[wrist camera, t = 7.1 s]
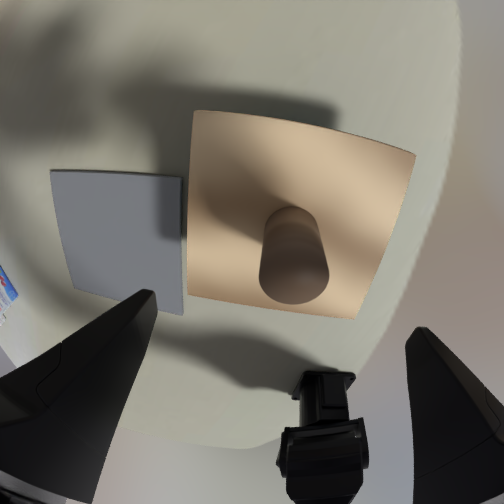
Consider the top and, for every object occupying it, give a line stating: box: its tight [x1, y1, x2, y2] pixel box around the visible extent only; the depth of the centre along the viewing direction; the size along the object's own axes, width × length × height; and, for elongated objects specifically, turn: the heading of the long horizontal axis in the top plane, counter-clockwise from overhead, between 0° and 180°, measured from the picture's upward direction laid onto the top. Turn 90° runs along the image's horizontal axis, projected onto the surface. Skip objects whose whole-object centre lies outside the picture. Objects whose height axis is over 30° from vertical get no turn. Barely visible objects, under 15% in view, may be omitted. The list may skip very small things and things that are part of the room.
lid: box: [187, 110, 416, 319], centre depth 13 cm, size 11×11×5 cm
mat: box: [50, 171, 184, 315], centre depth 21 cm, size 13×13×1 cm
